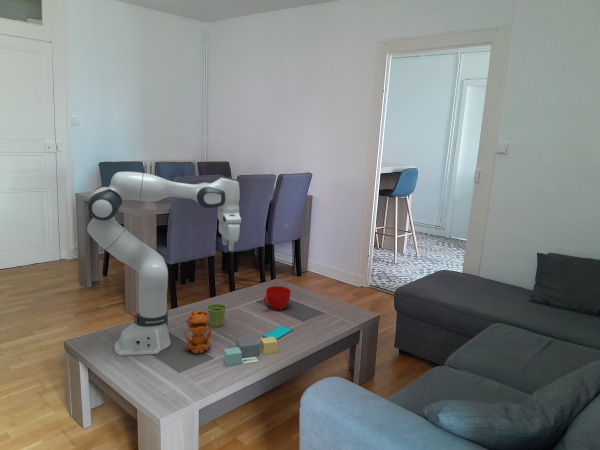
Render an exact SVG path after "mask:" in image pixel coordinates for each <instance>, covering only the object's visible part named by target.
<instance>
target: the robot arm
mask: <svg viewBox="0 0 600 450" xmlns="http://www.w3.org/2000/svg"><path fill="white" fill-rule="evenodd" d="M240 192H241V191H240V183H239V181H238V180H237V179H235V178H232V177H229V176H228V177H227V176H221V177H220V178H219V179H216V180H215V181H214V182H209V181H202V182H201V181H200V182H198V183H187V182H180V181H179V182H178V181H173V180H172V181H171V180H168V179H166V178H163V177H160V176H158V175H154V174H151V173H146V172H145V173H144V172H139V171H118V172H115V173H114V174H113V176H112V177H111V180H110V184H109V186H108V185H104V186H98V187H97V188H96V189H94V190H93V192H92V193H91V194H90V195H89V198H88V202H87V205H86V206H87V212H88V213H89V214H90V216H91V217H92V219H90V221H89V223H88V225H87V228H86V231H87V233H88V235H89V236H90V237H91V238H92V239H93V241H95V242H96V243H97V244H98V245H99V246H100V247H101V248H102V249H104V250H105V251H106V252H107V253H109V254H110V255H111V256H113V257H114V258H116V259H117V260H118V261H119V262H121V263H123V264H126V265H127V266H129V267H131V268H132V269H134V271H137V273H138V304H139V305H138V306H139V307H138V311H139V312H137V311H135V312H132V318H133V320H134V321H133V322H132V323H131V324H130V325H128V326H126V328H124V329H123V330H122V332H121V334H120V338H119V339H118V340H116V342H115V343H114V352H115V354H117V356H120V357H123V356H139V355H140V356H141V355H143V356H145V355H156V354H157V355H158V354H159V353H160V352H162V351H164V350H165V349H167V348H168V347H169V346H170V345H171V344H172V340H171V338H170V334H169V328H168V324H169V313H168V310H167V309H168V304H167V302H168V298H167V296H168V285H169V284H168V279H169V271H168V267H167V263H166V261H165V257H164V256H163V255H161V254H160V253H159V252H157V251H156V250H155V249H153V248H152V247H151V246H149V245H147V244H146V243H144V242H143V241H141V240H140V239H139V238H138V237H136V236H135V235H134V234H133V233H132V232H131V231H129V230H128V229H126V227H124V226H123V225H121V223H119V222H118V221H117V220H116V218H115V217H116V215H117V214H118V212H119V210H120V208H121V205H122V203H123V202H124V201H128V200H129V201H130V200H131V201H138V202H139V201H140V202H147V203H148V202H150V203H152V202H159V201H161V200H164V199H166V198H180V199H181V198H182V199H188V200H189V199H190V200H193V201H195V202H196V203H197V204H198V205H199V206H200V207H202V208H204V209H215V208H217V220H218V232H219V234H220V235H221V240H222V245H223V246H227V250H228V251H231V252H232V251H234V246H235V242H238V241H239V238H240V228H241V225H240V224H241V223H242V218H241V216H240V205H239V203H240V198H241V196H240V195H241V194H240Z"/></svg>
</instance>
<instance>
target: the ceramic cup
mask: <svg viewBox="0 0 600 450" xmlns="http://www.w3.org/2000/svg"><path fill="white" fill-rule="evenodd" d="M290 297H291V289H290V288H288V287H285V286H280V285H279V286H278V285H276V286H269V287H267V288H266V289H265V296H264V297H263V302H264V304H265V305H267V306H268V305H269V307H270V308H271V310H275V311H282V310H284V309H285V307H286V306H287V305H288V303H289V302H290Z"/></svg>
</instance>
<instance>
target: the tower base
mask: <svg viewBox="0 0 600 450" xmlns="http://www.w3.org/2000/svg"><path fill="white" fill-rule="evenodd" d="M236 347H239V349H240V350H241V352H242V359H243V358H249V357H259V356H260V355H261V350H260V341H258V340H257V338H256V337H255V336H246V337H239V338H238V337H237V338H236V339H235V348H236Z"/></svg>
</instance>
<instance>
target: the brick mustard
mask: <svg viewBox="0 0 600 450" xmlns="http://www.w3.org/2000/svg"><path fill="white" fill-rule="evenodd" d="M259 340H260V341H259V344H260V352H262V354H263V355H268V354H275V353H276V354H277V353H278V340H276V339H275V338H274V337H268V338H265V337H262V338H260V339H259Z"/></svg>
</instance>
